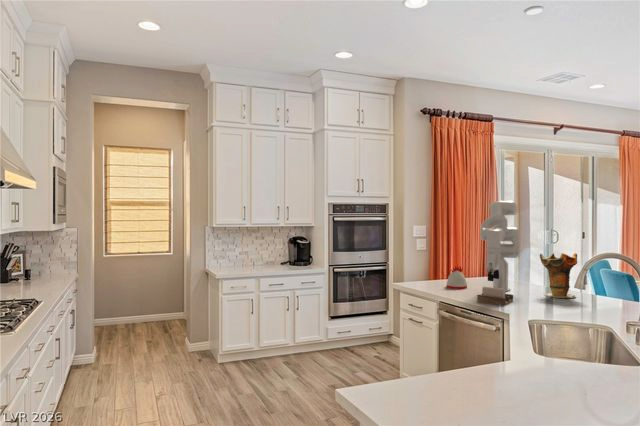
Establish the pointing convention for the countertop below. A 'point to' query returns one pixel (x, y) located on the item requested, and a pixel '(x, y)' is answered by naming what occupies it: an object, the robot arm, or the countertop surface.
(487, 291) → the beige rectangular block
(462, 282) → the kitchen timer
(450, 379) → the countertop surface
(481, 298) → the walnut rack
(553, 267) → the decorative vase
